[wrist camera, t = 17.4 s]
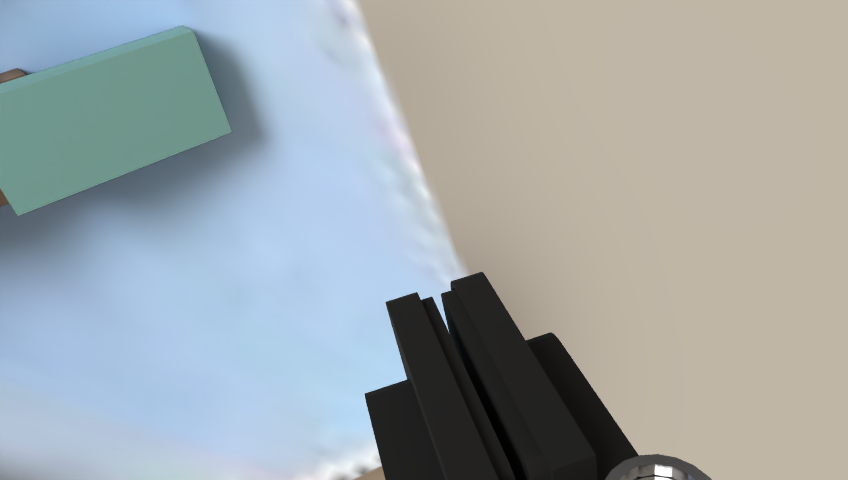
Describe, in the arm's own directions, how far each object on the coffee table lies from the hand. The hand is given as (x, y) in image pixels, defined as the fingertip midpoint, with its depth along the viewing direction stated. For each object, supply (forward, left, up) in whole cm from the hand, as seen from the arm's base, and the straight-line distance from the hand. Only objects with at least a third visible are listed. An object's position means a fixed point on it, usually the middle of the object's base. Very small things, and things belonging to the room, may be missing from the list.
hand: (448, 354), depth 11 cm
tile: (-1, +5, -25) cm, 25 cm away
